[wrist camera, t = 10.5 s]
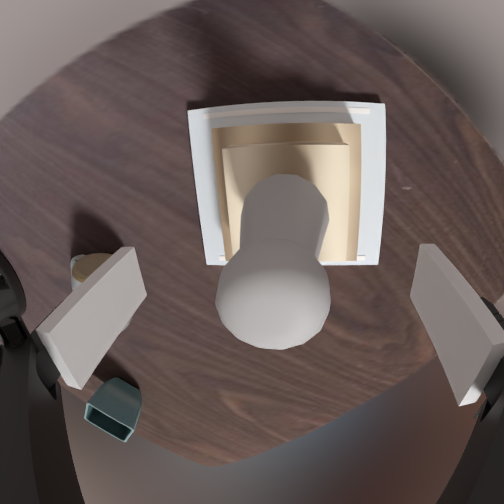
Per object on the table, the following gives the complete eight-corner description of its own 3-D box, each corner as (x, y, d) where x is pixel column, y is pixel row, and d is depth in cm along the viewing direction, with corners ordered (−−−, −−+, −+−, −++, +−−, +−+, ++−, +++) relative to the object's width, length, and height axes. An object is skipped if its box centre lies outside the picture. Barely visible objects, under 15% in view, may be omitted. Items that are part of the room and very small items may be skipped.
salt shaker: (340, 216, 21) (381, 334, 10) (279, 256, 23) (258, 390, 12) (293, 151, 20) (289, 202, 8) (231, 198, 22) (158, 296, 10)
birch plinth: (232, 247, 31) (217, 277, 25) (220, 127, 25) (200, 130, 20) (351, 247, 29) (362, 277, 23) (354, 123, 23) (369, 125, 18)
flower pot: (141, 408, 50) (125, 443, 42) (103, 385, 49) (83, 418, 41) (153, 391, 46) (134, 430, 38) (110, 365, 45) (86, 402, 37)
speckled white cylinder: (138, 256, 34) (104, 290, 27) (141, 310, 38) (113, 347, 31) (73, 239, 35) (36, 265, 28) (80, 289, 38) (49, 318, 32)
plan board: (209, 260, 33) (206, 265, 32) (191, 110, 26) (187, 110, 25) (375, 260, 30) (378, 265, 29) (382, 104, 23) (385, 103, 22)
